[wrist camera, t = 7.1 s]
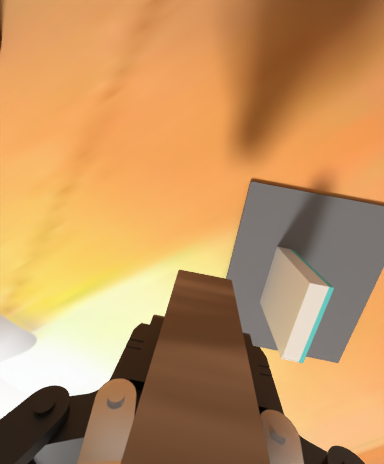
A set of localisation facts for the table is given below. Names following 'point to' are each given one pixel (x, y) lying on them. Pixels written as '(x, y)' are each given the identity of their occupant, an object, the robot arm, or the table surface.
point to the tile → (294, 303)
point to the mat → (308, 258)
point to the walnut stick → (198, 384)
